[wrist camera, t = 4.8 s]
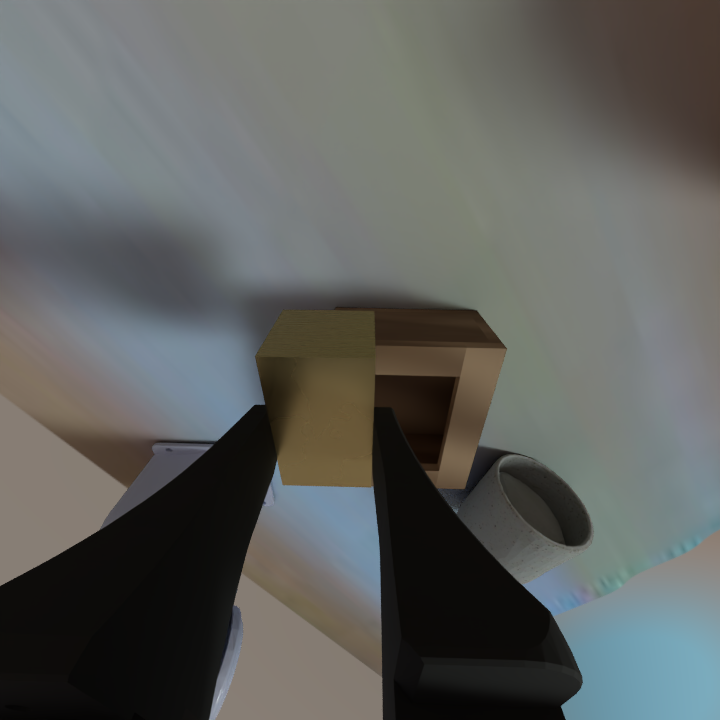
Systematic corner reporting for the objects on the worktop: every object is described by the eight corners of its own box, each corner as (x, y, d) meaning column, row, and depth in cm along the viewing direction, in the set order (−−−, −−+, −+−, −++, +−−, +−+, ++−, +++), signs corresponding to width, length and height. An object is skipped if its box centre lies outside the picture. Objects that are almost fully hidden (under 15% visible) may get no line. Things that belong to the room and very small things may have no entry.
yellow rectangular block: (371, 425, 15) (371, 487, 12) (299, 423, 15) (282, 484, 12) (374, 310, 12) (375, 358, 9) (283, 309, 12) (254, 356, 9)
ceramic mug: (440, 501, 30) (463, 593, 23) (481, 444, 26) (522, 537, 19) (536, 519, 31) (581, 611, 25) (589, 468, 27) (661, 563, 21)
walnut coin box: (448, 435, 25) (464, 489, 21) (339, 432, 25) (333, 485, 21) (476, 310, 20) (507, 348, 15) (335, 307, 20) (326, 344, 15)
